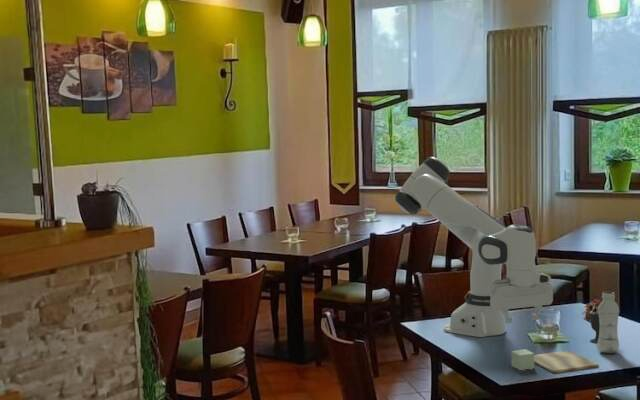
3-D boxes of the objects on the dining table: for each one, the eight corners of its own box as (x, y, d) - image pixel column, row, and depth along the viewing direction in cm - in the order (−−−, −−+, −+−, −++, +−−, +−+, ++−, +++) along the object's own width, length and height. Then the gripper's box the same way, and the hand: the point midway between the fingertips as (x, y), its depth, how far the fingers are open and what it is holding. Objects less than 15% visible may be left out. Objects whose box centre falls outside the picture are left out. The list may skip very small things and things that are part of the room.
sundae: (609, 344, 263) (609, 301, 262) (588, 344, 265) (588, 300, 263) (606, 339, 270) (606, 296, 268) (586, 338, 271) (586, 296, 270)
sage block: (519, 371, 240) (519, 355, 239) (511, 366, 244) (511, 350, 244) (534, 369, 241) (534, 353, 240) (525, 364, 246) (525, 349, 245)
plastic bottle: (597, 349, 259) (597, 290, 257) (619, 350, 256) (619, 291, 254) (596, 354, 253) (596, 294, 251) (619, 356, 250) (619, 295, 248)
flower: (613, 312, 298) (601, 295, 300) (612, 313, 290) (599, 295, 292) (591, 325, 301) (579, 308, 303) (589, 327, 292) (577, 308, 295)
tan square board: (553, 373, 236) (553, 370, 236) (525, 358, 251) (525, 356, 251) (598, 366, 240) (598, 364, 240) (568, 352, 256) (568, 350, 256)
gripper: (496, 282, 234) (496, 327, 235) (555, 276, 239) (555, 320, 241) (486, 278, 240) (486, 322, 241) (544, 272, 246) (544, 315, 247)
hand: (521, 321), depth 241 cm, fingers open, 8 cm apart
